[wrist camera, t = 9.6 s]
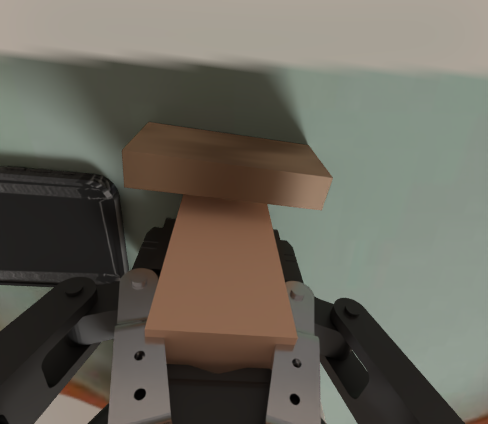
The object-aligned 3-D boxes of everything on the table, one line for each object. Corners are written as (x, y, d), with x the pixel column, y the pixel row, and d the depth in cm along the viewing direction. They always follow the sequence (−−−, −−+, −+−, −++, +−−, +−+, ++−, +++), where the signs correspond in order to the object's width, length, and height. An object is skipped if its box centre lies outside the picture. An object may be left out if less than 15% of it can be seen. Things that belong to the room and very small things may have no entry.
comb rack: (308, 145, 15) (332, 177, 11) (252, 342, 23) (257, 395, 20) (148, 122, 14) (121, 150, 10) (151, 336, 22) (137, 391, 19)
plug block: (265, 196, 14) (298, 338, 8) (251, 256, 17) (268, 411, 10) (185, 186, 14) (144, 328, 7) (181, 250, 16) (147, 408, 9)
